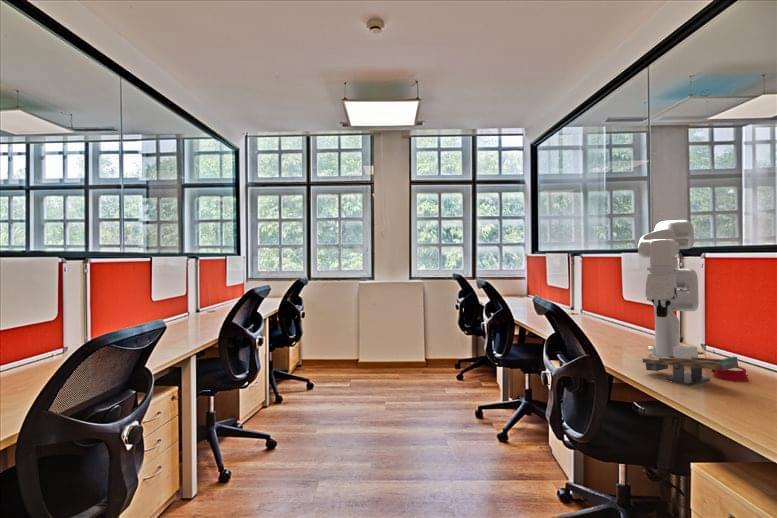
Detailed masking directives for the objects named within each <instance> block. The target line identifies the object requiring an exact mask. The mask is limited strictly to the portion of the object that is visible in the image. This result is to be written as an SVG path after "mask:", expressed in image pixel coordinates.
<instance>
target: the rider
mask: <svg viewBox="0 0 777 518" xmlns="http://www.w3.org/2000/svg"><path fill="white" fill-rule="evenodd" d="M698 352H699V351H698V346H689V345H688V346H687V345H686V346H685V345H680V346H677V347H673V354H674V359H684V360H696V361H699V358H700V357H699V353H698Z"/></svg>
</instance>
